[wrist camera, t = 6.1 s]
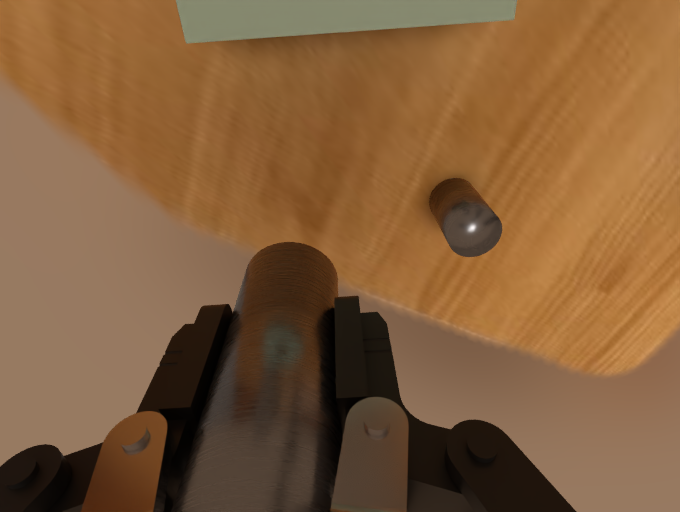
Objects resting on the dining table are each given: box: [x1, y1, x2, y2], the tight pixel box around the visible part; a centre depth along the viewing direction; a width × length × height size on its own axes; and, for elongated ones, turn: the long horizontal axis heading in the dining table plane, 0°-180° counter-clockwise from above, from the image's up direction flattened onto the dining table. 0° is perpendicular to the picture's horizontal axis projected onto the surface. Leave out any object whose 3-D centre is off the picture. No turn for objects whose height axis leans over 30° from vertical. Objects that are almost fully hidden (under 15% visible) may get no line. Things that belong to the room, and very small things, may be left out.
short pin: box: [429, 178, 502, 257], centre depth 26 cm, size 3×3×5 cm
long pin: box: [171, 242, 343, 512], centre depth 10 cm, size 3×3×10 cm
